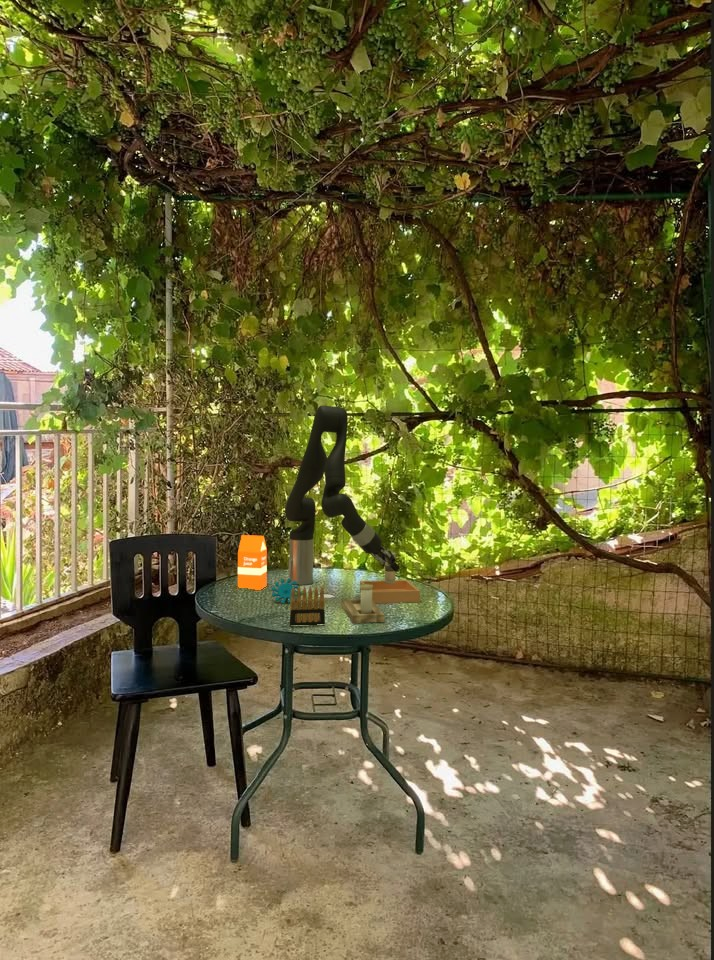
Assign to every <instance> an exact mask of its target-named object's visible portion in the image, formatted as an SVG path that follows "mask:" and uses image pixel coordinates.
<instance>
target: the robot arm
mask: <svg viewBox="0 0 714 960" xmlns="http://www.w3.org/2000/svg"><path fill="white" fill-rule="evenodd" d="M348 422H349V421H348V412H347V411H346V409H345V408H344V407H340V406H334V405H333V406H332V405H324V404H322V405H320V406H318V407H317V408H316V411H315V414H314V417H313V422H312V426H311V430H310V435H309V439H308V442H307V446H306V448H305V451H304V454H303V457H302V460H301V463H300V466H299V470H298V472H297V473H298V474H297V477H296V479H295V483H294V485H293V487H292V489H291V491H290V494H289V496H288V498H287V500H286V504H285V509H284V515H285V517H286V520H287V521H289V522H293V523H295V522H299V523H300V522H301V524H300V525H299V526H297V528H294V529H292V530H291V531H290V532H289V547H288V548H289V557H288V578H289V579H291V582H289V583H288V584H291V583H293V581H296V582H297V584H299V585H301V586H302V585H305V586H306V585H311V584H313V583H314V534H315V527H316V502H315V501H314V499H313V498H312V497H307V496H306V495H307V494H308V493H309V491H311V490H312V489H313V488H314V487H316V486H317V485H318V484H319V482H320V481H321V480H322V479H323V477H324V488H323V493H322V498H321V508H322V509H321V510H322V512H323V514H324V515H325V516H326V517H327V518H335V517H338V516H341V515H342V516H343V517H342V520H341V526H342V528H343V529H344V530H345V531H346V532H347V533H348V535H349V536H350V537H351V539H352V540H353V541H354V542H355V543H356V544H357V546H358V547H359V548H361V550H362V551H363V552H364V553H365V554H370V556H372V557H373V558H374V559H375V560H376V561H377V562H380V564H383V565H384V566H385V562H386V563H387V564H388V565H389V566H390V567H391V568H392V569H393V570H394V571H395V573H397V572H399V570H400V568H401V567H400V566H399V565H398V564H397V563H396V561H397V559H396V556H395V557H394V556H393V554H392V553H391V552H392V551H391V550H387V549H386V547H385V546H383V545H382V542H383V541H382V537H380V535H379V534H378V532H376V531H375V530H374V529H373V528H372V527H371V525H370V524H368V522H366V521H365V519H363V518H362V516H360V515H359V512H358V511H357V508H356V506H355V504H354V502H353V500H352V499H351V497H349V496H348V495H347V494H345V493H340V491H342V490H343V489H344V488H345V487H346V482H347V481H346V465H345V464H346V463H345V462H346V449H347V439H348V438H347V435H348V427H349V424H348ZM324 433H333V434H335V436H336V438H335V442H334V446H333V448H332V449H331V451H330V452H329V455H328V456H327V453H326V451H325V448H324V446H323V442H322V437H323V434H324ZM305 496H306V497H305Z"/></svg>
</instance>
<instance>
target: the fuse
mask: <svg viewBox="0 0 714 960" xmlns="http://www.w3.org/2000/svg"><path fill="white" fill-rule="evenodd" d="M360 589H361V593H360V599H361V610H360V614H372V589H373V585H372V584H361V585H360V584H359V590H360Z"/></svg>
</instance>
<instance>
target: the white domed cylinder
mask: <svg viewBox="0 0 714 960" xmlns="http://www.w3.org/2000/svg"><path fill="white" fill-rule="evenodd" d="M391 553H392V554H393V556H394V557H395V558H396V553H397V552H395V551H391ZM395 580H396V572H395V571H394V570H393V569H392V568H391V567H390V566H389V565H388V564H387V563H386V562H385V565H384V579H383V581H384V583H385V584H395Z"/></svg>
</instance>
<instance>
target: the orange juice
mask: <svg viewBox="0 0 714 960" xmlns="http://www.w3.org/2000/svg"><path fill="white" fill-rule="evenodd" d="M267 551H268V549H267V544H266V540H265V536H264V535H250V534H241V536H240V541H239V547H238V550H237V588H238V587H239V588H248V589H255V590H261V589H263V588H264V587H266V586H267V579H268V578H267V576H268V574H267V572H268V569H267V566H268V565H267V564H268V562H267V560H268V559H267V558H268V556H267V555H268V553H267ZM266 588H267V587H266ZM264 589H265V588H264ZM264 589H263V590H264Z"/></svg>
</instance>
